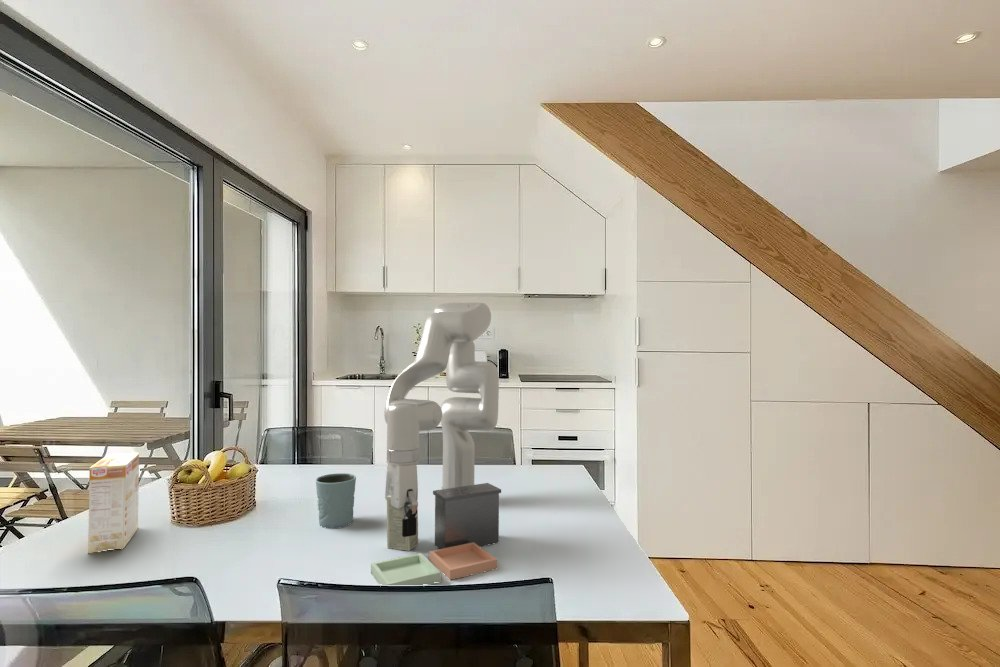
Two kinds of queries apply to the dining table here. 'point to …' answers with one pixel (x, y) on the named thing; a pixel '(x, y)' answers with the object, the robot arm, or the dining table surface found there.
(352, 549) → the dining table surface
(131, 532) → the coffeecake box
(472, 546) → the terracotta tray
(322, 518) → the grey-green cup
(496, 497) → the charcoal unit
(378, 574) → the sage tray
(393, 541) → the skincare box
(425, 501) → the dining table surface
